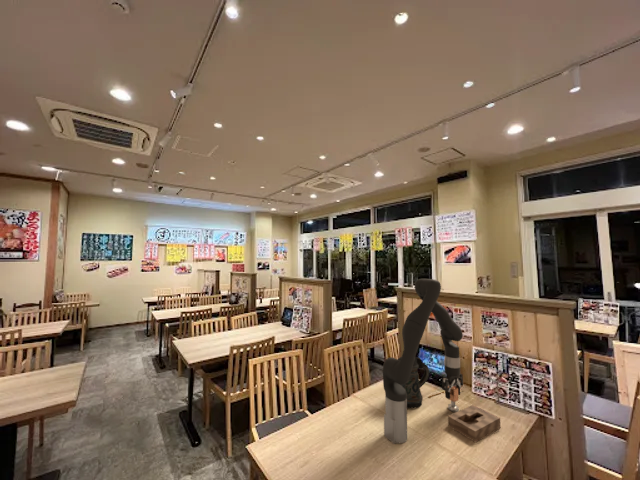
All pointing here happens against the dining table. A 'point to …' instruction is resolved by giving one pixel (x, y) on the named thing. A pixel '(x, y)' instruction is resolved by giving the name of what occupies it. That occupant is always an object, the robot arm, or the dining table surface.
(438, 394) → the axe
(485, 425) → the keyhole plate
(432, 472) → the dining table surface
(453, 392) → the t peg
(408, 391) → the beer stein
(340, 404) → the dining table surface
